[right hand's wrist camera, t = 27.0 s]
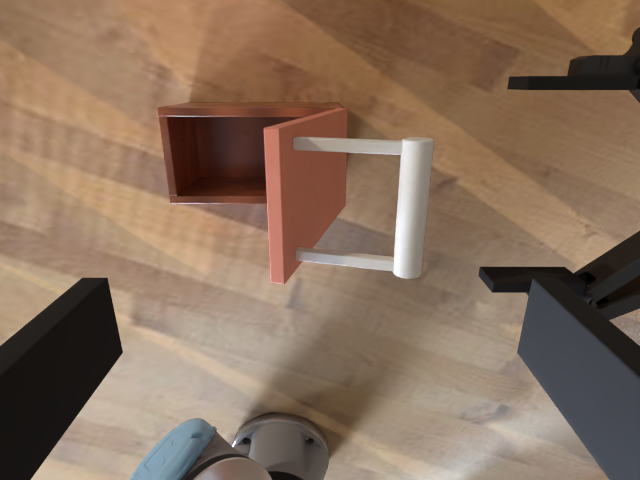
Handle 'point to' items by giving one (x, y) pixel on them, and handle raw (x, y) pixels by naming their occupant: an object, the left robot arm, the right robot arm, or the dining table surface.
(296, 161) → the lid
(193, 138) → the chest
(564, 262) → the dining table surface
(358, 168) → the dining table surface
